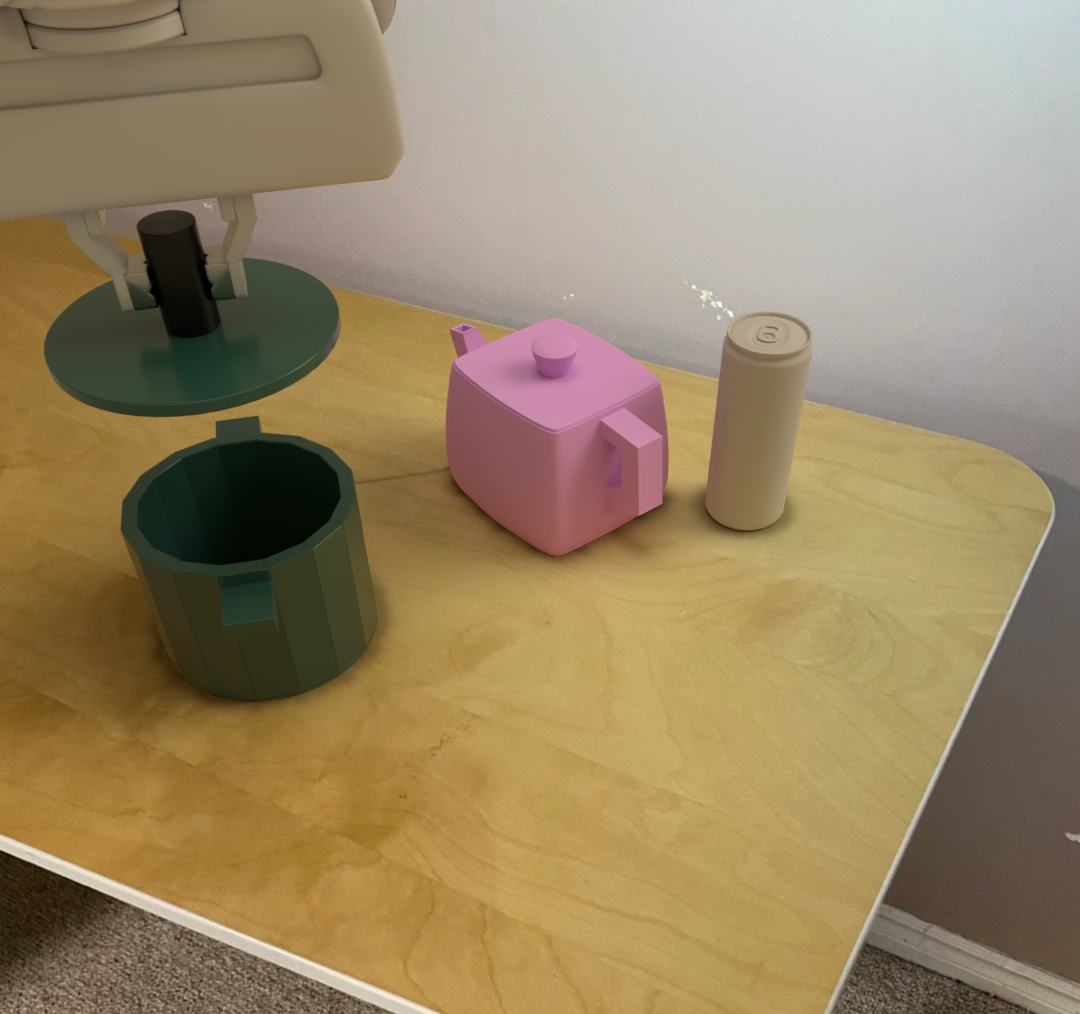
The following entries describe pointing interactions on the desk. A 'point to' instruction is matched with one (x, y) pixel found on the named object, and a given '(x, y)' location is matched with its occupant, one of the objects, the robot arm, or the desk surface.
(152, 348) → the lid
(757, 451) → the beverage can
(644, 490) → the teapot
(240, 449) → the pot
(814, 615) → the desk surface
